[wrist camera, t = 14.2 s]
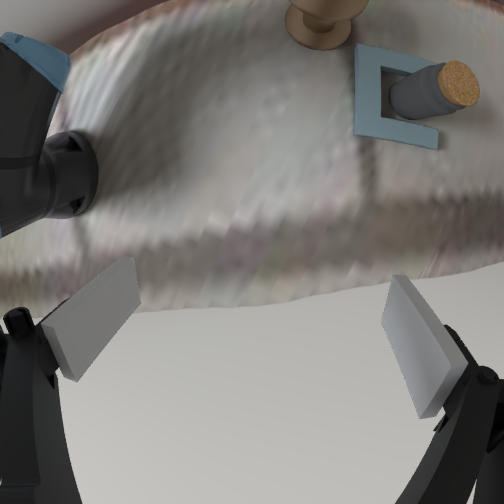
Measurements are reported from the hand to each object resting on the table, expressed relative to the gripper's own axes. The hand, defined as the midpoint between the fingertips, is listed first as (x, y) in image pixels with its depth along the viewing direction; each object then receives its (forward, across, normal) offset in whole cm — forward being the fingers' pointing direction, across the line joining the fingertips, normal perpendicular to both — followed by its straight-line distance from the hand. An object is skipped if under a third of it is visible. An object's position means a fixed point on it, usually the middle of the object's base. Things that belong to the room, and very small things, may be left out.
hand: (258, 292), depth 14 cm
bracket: (+27, +16, +16) cm, 35 cm away
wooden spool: (+27, +5, +26) cm, 37 cm away
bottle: (+27, +18, +16) cm, 36 cm away
